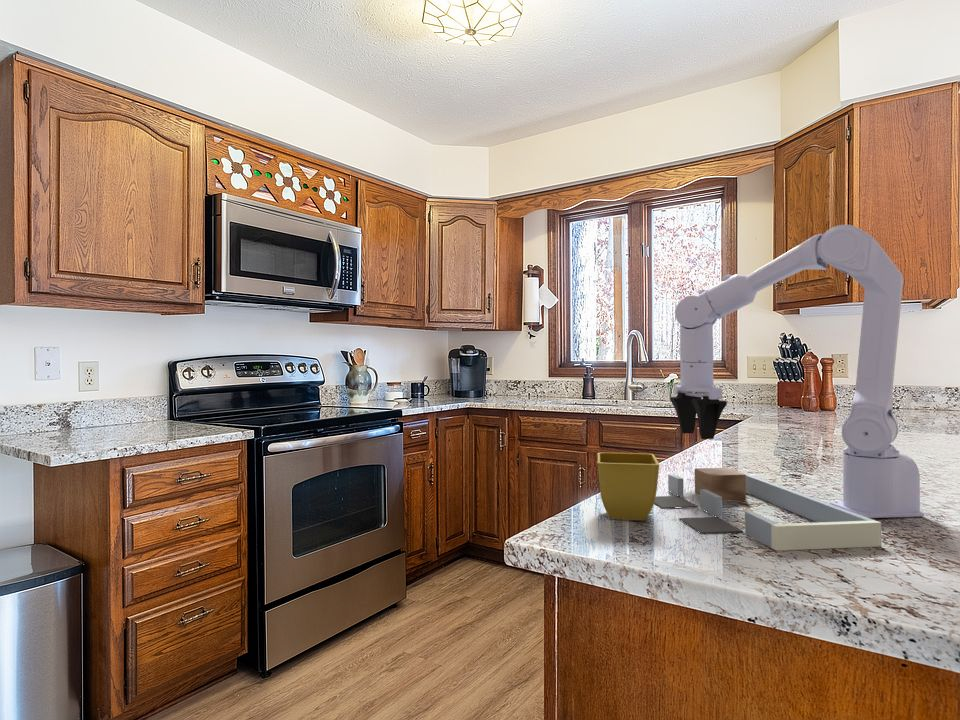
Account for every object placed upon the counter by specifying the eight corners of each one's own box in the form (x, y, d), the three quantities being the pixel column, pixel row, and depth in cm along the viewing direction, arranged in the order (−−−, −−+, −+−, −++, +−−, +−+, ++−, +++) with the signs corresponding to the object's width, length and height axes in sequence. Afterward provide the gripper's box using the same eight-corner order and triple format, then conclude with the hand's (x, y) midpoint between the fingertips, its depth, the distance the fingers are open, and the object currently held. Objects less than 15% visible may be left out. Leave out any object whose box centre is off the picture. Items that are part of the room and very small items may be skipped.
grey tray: (742, 488, 104) (742, 472, 104) (875, 543, 73) (875, 520, 73) (668, 490, 102) (668, 474, 102) (771, 548, 72) (771, 524, 72)
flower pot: (660, 526, 81) (659, 463, 81) (597, 523, 83) (597, 462, 83) (654, 510, 90) (653, 453, 90) (597, 507, 92) (597, 452, 92)
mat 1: (679, 496, 98) (679, 495, 98) (698, 507, 91) (698, 506, 91) (645, 497, 97) (645, 496, 97) (662, 508, 90) (662, 507, 90)
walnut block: (727, 492, 101) (726, 467, 101) (745, 501, 95) (745, 474, 95) (694, 493, 101) (694, 468, 101) (711, 502, 95) (711, 475, 95)
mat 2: (717, 518, 85) (717, 516, 85) (743, 532, 78) (743, 530, 78) (678, 519, 84) (678, 518, 84) (701, 533, 78) (701, 532, 78)
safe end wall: (875, 543, 73) (875, 520, 73) (881, 546, 72) (881, 522, 72) (771, 548, 72) (771, 524, 72) (776, 550, 71) (776, 526, 71)
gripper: (659, 362, 112) (660, 431, 112) (694, 363, 97) (694, 442, 98) (694, 362, 113) (694, 430, 113) (733, 362, 98) (734, 441, 98)
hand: (697, 435), depth 105 cm, fingers open, 7 cm apart
